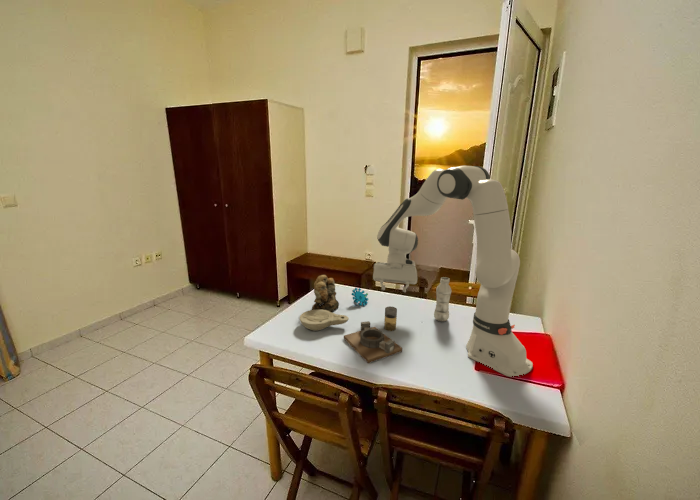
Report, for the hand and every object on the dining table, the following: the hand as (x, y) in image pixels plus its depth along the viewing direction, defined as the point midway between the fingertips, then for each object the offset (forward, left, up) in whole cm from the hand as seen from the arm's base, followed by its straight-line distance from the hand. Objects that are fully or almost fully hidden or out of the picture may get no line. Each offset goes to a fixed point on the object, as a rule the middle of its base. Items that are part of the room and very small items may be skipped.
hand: (393, 290), depth 137 cm
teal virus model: (+20, +5, -13) cm, 24 cm away
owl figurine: (+23, +23, -13) cm, 35 cm away
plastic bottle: (-13, -18, -13) cm, 26 cm away
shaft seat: (-15, +21, -13) cm, 29 cm away
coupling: (-8, +7, -13) cm, 17 cm away
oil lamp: (+7, +31, -13) cm, 35 cm away
